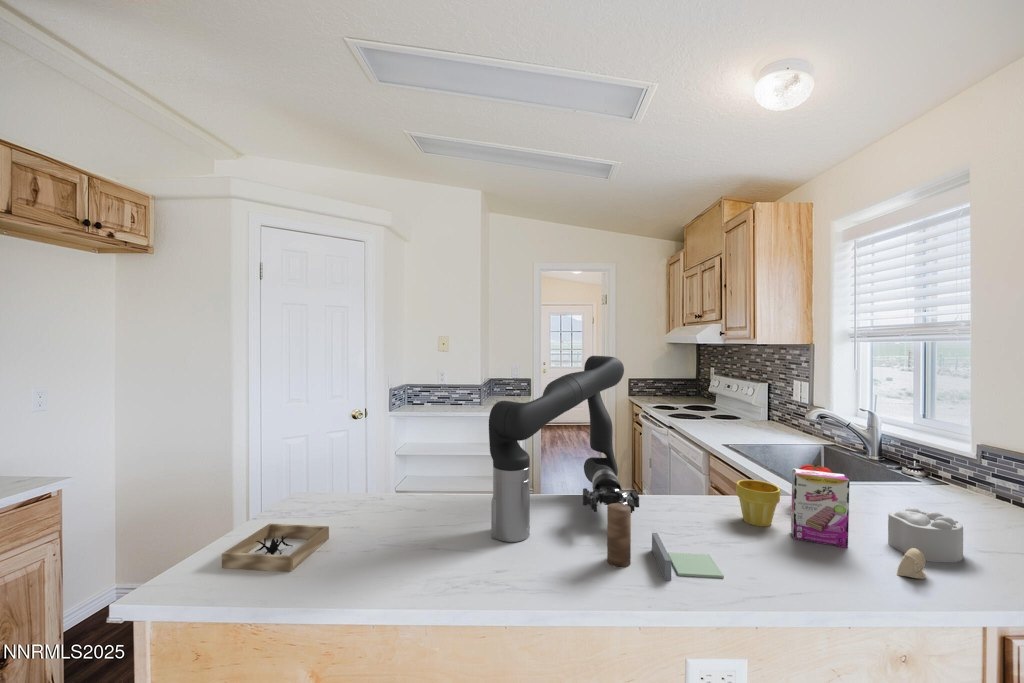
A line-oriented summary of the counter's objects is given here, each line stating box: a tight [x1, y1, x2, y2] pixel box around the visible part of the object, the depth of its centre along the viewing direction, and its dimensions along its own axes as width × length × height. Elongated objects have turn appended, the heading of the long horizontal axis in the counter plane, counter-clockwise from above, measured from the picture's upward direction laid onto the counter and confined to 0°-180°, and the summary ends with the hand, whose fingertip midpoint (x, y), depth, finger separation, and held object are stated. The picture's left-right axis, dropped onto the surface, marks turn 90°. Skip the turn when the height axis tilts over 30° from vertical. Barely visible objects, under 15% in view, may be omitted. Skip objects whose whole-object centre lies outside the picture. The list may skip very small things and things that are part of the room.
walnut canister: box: [606, 503, 632, 569], centre depth 97 cm, size 5×5×12 cm
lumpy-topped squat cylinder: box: [887, 507, 964, 563], centre depth 103 cm, size 10×13×9 cm
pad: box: [667, 551, 725, 579], centre depth 96 cm, size 9×9×1 cm
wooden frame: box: [221, 523, 330, 573], centre depth 102 cm, size 16×16×3 cm
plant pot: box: [735, 479, 781, 527], centre depth 119 cm, size 10×10×10 cm
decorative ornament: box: [896, 548, 927, 580], centre depth 92 cm, size 4×8×5 cm, turn 128°
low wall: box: [651, 532, 672, 581], centre depth 97 cm, size 1×13×4 cm, turn 174°
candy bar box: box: [790, 468, 850, 549], centre depth 108 cm, size 11×5×16 cm, turn 65°
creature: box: [254, 531, 294, 555], centre depth 102 cm, size 8×5×8 cm
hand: (613, 508), depth 109 cm, fingers open, 8 cm apart
